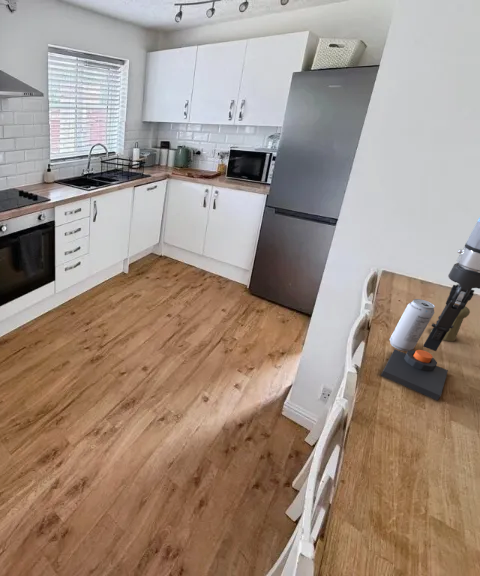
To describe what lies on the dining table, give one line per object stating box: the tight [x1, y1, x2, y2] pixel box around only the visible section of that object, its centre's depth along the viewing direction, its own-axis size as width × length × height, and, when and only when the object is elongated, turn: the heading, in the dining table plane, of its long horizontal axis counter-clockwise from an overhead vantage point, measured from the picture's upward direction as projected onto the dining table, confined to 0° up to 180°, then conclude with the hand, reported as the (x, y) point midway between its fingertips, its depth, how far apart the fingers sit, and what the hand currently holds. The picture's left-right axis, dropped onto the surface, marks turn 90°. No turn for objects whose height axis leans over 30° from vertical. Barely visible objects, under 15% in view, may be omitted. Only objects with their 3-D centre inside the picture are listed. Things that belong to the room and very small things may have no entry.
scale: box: [380, 348, 449, 402], centre depth 98 cm, size 15×12×4 cm
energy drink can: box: [389, 298, 436, 352], centre depth 107 cm, size 6×6×15 cm
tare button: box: [413, 349, 434, 363], centre depth 100 cm, size 4×4×2 cm
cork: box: [430, 305, 471, 342], centre depth 113 cm, size 6×6×11 cm
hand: (429, 347), depth 98 cm, fingers closed
